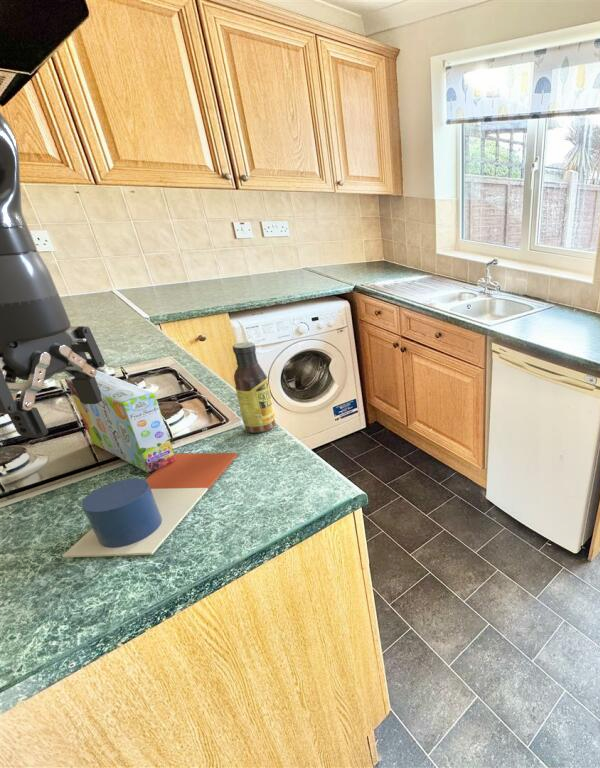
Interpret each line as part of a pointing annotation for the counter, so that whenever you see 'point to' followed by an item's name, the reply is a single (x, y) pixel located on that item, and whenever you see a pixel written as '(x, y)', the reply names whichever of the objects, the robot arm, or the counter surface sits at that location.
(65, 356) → the robot arm
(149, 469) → the snack box
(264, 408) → the sauce bottle
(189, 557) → the counter surface
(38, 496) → the counter surface
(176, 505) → the mat
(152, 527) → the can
